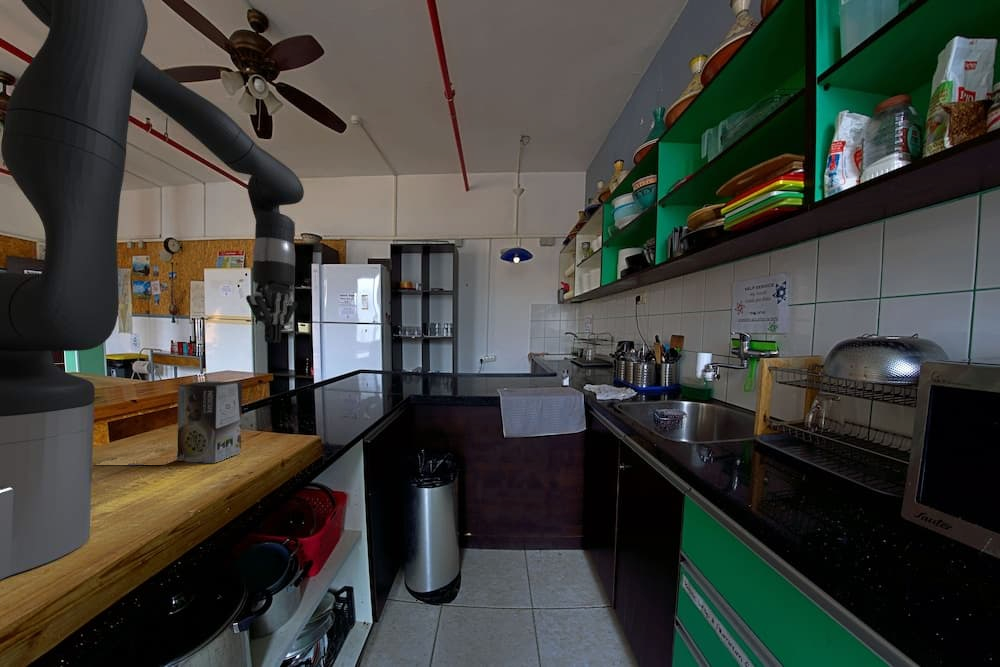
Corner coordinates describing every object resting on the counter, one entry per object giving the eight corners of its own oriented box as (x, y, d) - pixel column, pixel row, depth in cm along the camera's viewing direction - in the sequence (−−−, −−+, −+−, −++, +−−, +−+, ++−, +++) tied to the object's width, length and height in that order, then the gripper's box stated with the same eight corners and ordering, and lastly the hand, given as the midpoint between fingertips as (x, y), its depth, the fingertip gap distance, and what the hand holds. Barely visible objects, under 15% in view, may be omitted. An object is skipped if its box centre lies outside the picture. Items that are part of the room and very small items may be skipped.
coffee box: (242, 453, 73) (244, 381, 74) (214, 464, 67) (216, 385, 67) (205, 451, 74) (207, 380, 74) (174, 462, 68) (176, 384, 68)
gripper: (278, 269, 78) (276, 342, 78) (232, 254, 65) (230, 342, 64) (309, 269, 78) (308, 342, 78) (270, 255, 65) (268, 342, 64)
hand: (272, 342), depth 71 cm, fingers closed
